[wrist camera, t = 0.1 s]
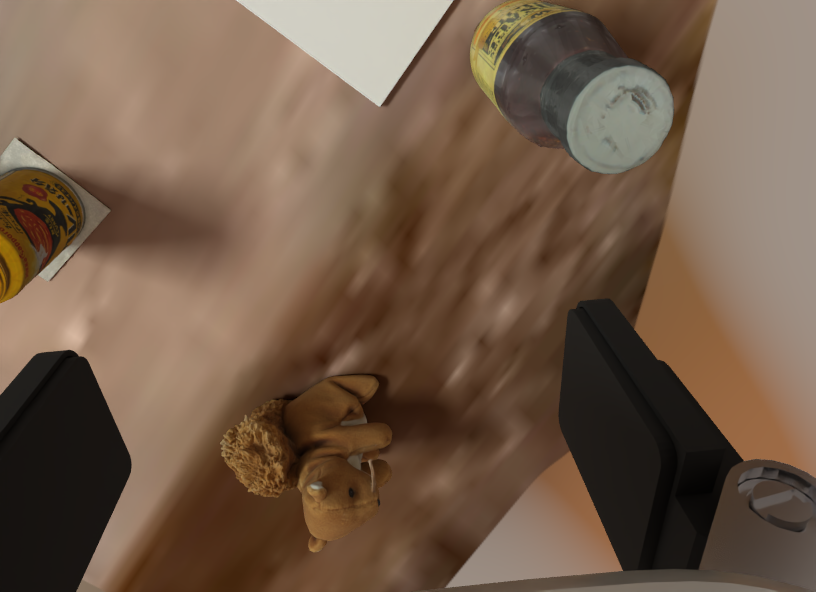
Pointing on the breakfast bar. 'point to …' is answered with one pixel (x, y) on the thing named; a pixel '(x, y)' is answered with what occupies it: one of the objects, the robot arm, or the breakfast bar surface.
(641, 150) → the sauce bottle
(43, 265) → the condiment
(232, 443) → the stuffed squirrel
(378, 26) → the mat
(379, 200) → the breakfast bar surface
